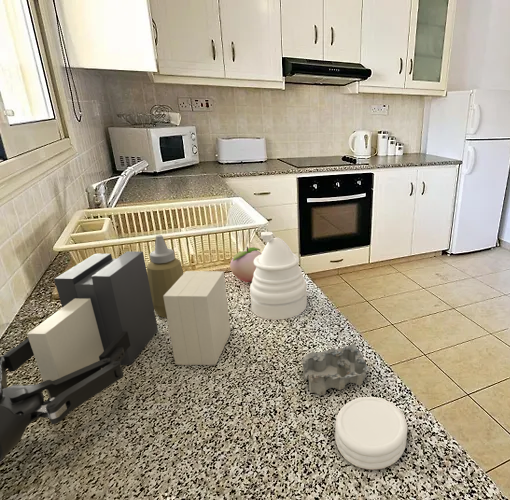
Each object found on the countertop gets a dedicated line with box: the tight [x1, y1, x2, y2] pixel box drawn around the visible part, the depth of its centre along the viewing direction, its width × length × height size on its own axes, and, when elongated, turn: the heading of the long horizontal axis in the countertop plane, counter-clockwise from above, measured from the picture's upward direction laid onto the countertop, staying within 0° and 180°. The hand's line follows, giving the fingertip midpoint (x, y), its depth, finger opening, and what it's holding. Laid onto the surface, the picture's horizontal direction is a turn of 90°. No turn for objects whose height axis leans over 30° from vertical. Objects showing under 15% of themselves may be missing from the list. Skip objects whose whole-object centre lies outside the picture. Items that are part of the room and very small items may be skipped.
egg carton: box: [300, 343, 371, 396], centre depth 64 cm, size 11×8×4 cm
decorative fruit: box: [229, 245, 262, 283], centre depth 97 cm, size 9×8×10 cm
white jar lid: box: [334, 396, 408, 471], centre depth 52 cm, size 10×10×4 cm
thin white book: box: [26, 298, 104, 398], centre depth 58 cm, size 2×10×14 cm, turn 2°
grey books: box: [53, 250, 159, 366], centre depth 68 cm, size 9×11×18 cm
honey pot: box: [249, 231, 308, 321], centre depth 84 cm, size 13×13×18 cm
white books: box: [163, 270, 232, 366], centre depth 69 cm, size 7×10×14 cm
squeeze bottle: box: [146, 234, 185, 319], centre depth 80 cm, size 8×8×18 cm
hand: (84, 338), depth 61 cm, fingers open, 13 cm apart
